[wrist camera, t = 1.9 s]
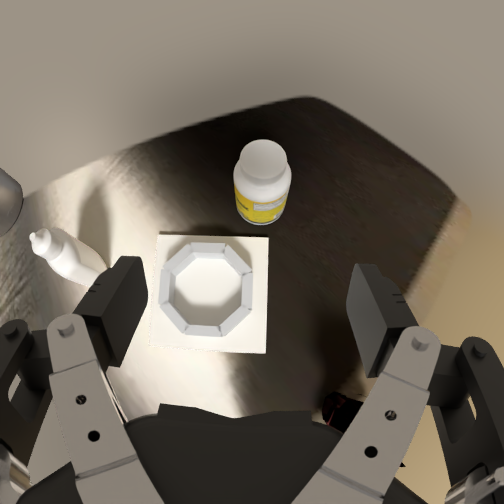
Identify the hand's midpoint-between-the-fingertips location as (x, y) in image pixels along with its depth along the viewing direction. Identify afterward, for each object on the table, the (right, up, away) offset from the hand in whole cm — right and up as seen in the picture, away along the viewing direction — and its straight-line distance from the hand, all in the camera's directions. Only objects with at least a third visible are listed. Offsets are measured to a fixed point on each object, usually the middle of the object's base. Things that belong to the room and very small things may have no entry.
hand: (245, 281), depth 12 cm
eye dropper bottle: (-18, -1, +21) cm, 28 cm away
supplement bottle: (+1, +6, +24) cm, 24 cm away
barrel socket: (-4, -3, +21) cm, 21 cm away
